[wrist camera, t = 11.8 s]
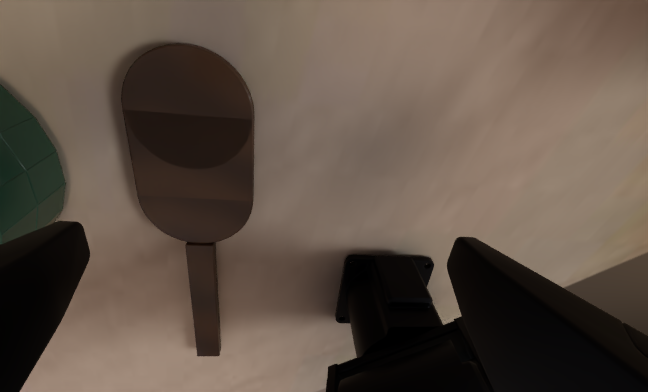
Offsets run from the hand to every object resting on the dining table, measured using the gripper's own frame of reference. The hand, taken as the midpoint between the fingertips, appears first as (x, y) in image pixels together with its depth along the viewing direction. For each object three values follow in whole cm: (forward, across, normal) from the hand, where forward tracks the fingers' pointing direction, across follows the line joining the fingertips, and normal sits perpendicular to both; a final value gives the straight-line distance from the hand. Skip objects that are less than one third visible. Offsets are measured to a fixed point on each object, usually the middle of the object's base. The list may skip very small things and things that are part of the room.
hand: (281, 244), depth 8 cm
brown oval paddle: (+12, +5, +8) cm, 16 cm away
